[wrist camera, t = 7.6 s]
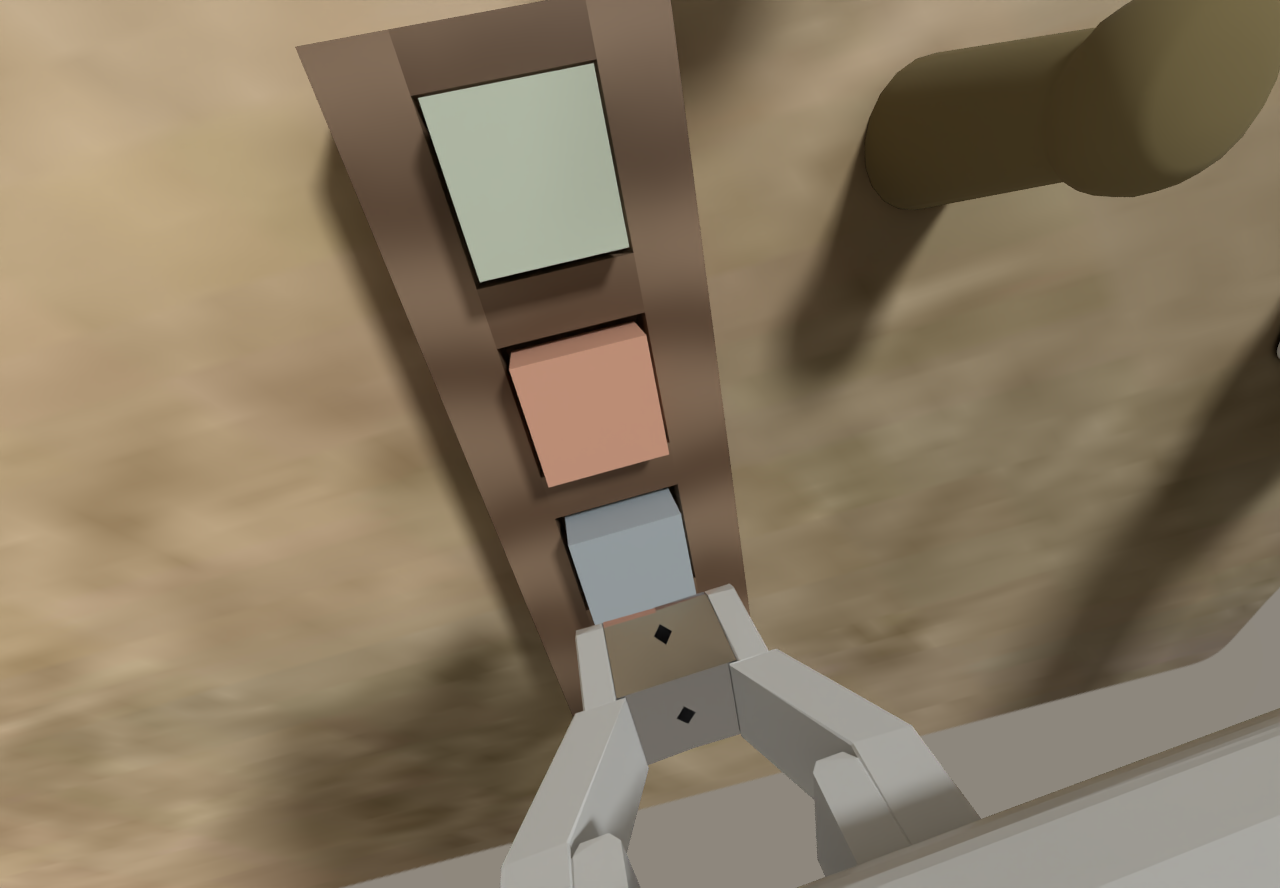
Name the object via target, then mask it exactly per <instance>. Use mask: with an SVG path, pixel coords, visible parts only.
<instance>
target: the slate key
mask: <svg viewBox="0 0 1280 888" xmlns="http://www.w3.org/2000/svg"><path fill="white" fill-rule="evenodd" d="M565 521H566V530H567V539H568V546H569V549H570V552H571V555H572V558H573V561H574V564H575V567H576V570H577V573H578V576H579V579H580V582H581V585H582V588H583V591H584V594H585V597H586V600H587V603H588V606H589V609H590V612H591V615H592V618H593V621H594V624H595V625H598V624H601V623H603V622H606V621H610V620H613V619H617V618H620V617H624V616H628V615H631V614H635V613H638V612H642V611H645V610H649V609H653V608H654V607H657V606H661V605H664V604H667V603H670V602H673V601H676V600H679V599H683V598H686V597H689V596H692V595H695V594H696V590H695V585H694V579H693V574H692V569H691V564H690V559H689V554H688V548H687V543H686V538H685V533H684V528H683V523H682V517H681V513H680V511H679V509H678V507H677V505H676V503H675V501H674V499H673V497H672V495H671V493H670V491H669V489H668V487H666V488H662V489H659V490H655V491H652V492H648V493H645V494H641V495H638V496H634V497H630V498H627V499H623V500H620V501H616V502H613V503H609V504H606V505H602V506H598V507H595V508H591V509H588V510H584V511H581V512H577V513H574V514H570V515H567V516H565Z"/></svg>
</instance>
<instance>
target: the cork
mask: <svg viewBox="0 0 1280 888" xmlns="http://www.w3.org/2000/svg"><path fill="white" fill-rule="evenodd" d="M1279 70H1280V0H1132V1H1131V2H1129V3H1127V4H1126V5H1124V6H1123V7H1121V8H1120V9H1119V10H1117V11H1116V12H1114V13H1113V14H1112V15H1110V16H1109V17H1107V18H1106V19H1105V20H1103V21H1102V22H1100V23H1099V25H1098V26H1097V27H1096V28H1090V29H1084V30H1077V31H1071V32H1065V33H1058V34H1052V35H1046V36H1039V37H1033V38H1027V39H1021V40H1014V41H1008V42H1002V43H995V44H989V45H983V46H976V47H970V48H964V49H957V50H951V51H945V52H939V53H934V54H931V55H928V56H924V57H921V58H918V59H916V60H914V61H913V62H912V63H910V64H909V65H907V66H906V67H905V68H903V69H902V70H901V71H899V72H898V73H897V74H896V75H895V76H894V78H893V79H892V80H891V81H890V83H889V84H888V85H887V86H886V88H885V89H884V90H883V91H882V93H881V94H880V97H879V99H878V101H877V103H876V105H875V107H874V110H873V112H872V114H871V116H870V119H869V124H868V129H867V134H866V138H865V165H866V169H867V172H868V175H869V178H870V181H871V184H872V187H873V188H874V189H875V190H876V192H877V193H878V194H879V195H880V197H881V198H882V199H883V200H884V201H885V202H887V203H889V204H891V205H893V206H895V207H897V208H899V209H912V210H918V209H923V208H928V207H934V206H939V205H944V204H949V203H955V202H960V201H965V200H970V199H976V198H981V197H986V196H992V195H997V194H1002V193H1007V192H1013V191H1018V190H1023V189H1028V188H1034V187H1039V186H1044V185H1050V184H1055V183H1060V182H1064V183H1066V184H1067V185H1069V186H1070V187H1072V188H1074V189H1075V190H1077V191H1080V192H1083V193H1087V194H1090V195H1094V196H1108V197H1135V196H1140V195H1144V194H1148V193H1152V192H1156V191H1159V190H1162V189H1165V188H1168V187H1171V186H1174V185H1177V184H1179V183H1181V182H1183V181H1185V180H1187V179H1189V178H1191V177H1193V176H1194V175H1196V174H1198V173H1200V172H1201V171H1203V170H1204V169H1206V168H1207V167H1209V166H1210V165H1212V164H1213V163H1215V162H1216V161H1218V160H1219V159H1221V158H1222V157H1223V156H1224V155H1225V154H1226V153H1227V152H1228V151H1229V150H1230V149H1231V148H1232V147H1233V146H1234V145H1235V144H1236V143H1237V142H1238V141H1239V140H1240V139H1241V138H1242V137H1243V135H1244V134H1245V132H1246V131H1247V129H1248V128H1249V127H1250V125H1251V124H1252V122H1253V121H1254V119H1255V118H1256V117H1257V115H1258V114H1259V112H1260V111H1261V109H1262V108H1263V106H1264V104H1265V102H1266V100H1267V98H1268V96H1269V94H1270V92H1271V90H1272V88H1273V86H1274V84H1275V82H1276V80H1277V77H1278V73H1279Z"/></svg>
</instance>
